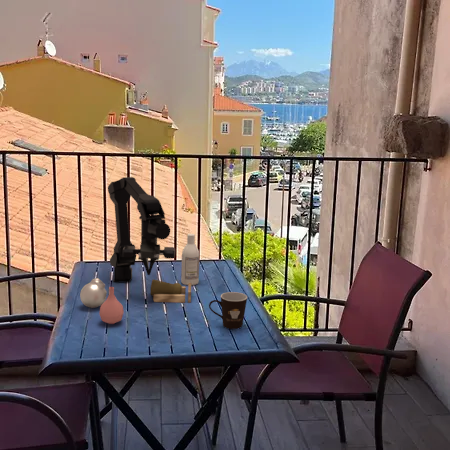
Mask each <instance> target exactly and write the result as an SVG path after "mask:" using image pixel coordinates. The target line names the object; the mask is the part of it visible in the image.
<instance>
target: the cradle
mask: <svg viewBox="0 0 450 450" xmlns="http://www.w3.org/2000/svg"><path fill="white" fill-rule="evenodd" d="M181 286H182V285H181ZM186 286H188V287H186ZM186 289H188V290H187V291H186ZM186 292H187V303H188V304H190V303H192V285H191V283H189V284H188V285H184V286H182V292H181V294H154V295H153V296H152V300H153V303H186Z"/></svg>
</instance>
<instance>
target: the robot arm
mask: <svg viewBox="0 0 450 450" xmlns="http://www.w3.org/2000/svg"><path fill="white" fill-rule="evenodd" d="M107 191H108V194H109V198H110V200H111V202H112V203H113V205H114V215H115V227H116V228H115V229H116V239H117V240H116V242H115V244H114V247H113V253H112V255H111V257H110V259H109V264H110V266H111V267H113V276H114V277H113V281H112V282H113V283H130V282H131V280H132V279H133V267H131V266H135V264H136V261H137V260H139V261H141V262H142V264H143V265H144V268H145V272H146V274H147V276H150V275H151V273H152V269H153V266H154V264H155V262H156V261H159V259H160V256H163V257H164V258H165V259H175V257H176V248H175V247H173V246H164V249H161V245H160V244H158V239H159V240H165V239H166V240H167V238H168V237H169V236H170V234H171V228H170V226H169V225H168V223H166V216H165V214H166V213H165V211H164V209H163V207H162V203H161V202H160V200H159V199H158V198H157V197H156V196H154V195H150V194H148V193H147V192H146V191H145V190H144V189H143V188H142V186H141V185H140V184H139V183H138V182H137V180H136V178H135V177H133V176H128V177H127V176H125V177H122V178H120V179H118V180H115V181H111V182H110V184H108V186H107ZM131 197H132V199H133V200H134V201H135V203H136V204H137V205H136V209H137V211H138V212H139V214H140V216H139V218H138V219H139V220H140V222H141V223H140V224H141V226H140V228H141V229H140V231H141V234H140V239H141V241H140V247H139V248H136V246H135V244H133V243H132V241H131V240H130V228H129V227H130V226H129V214H128V203H129V201H130V199H131ZM137 255H138V257H137ZM136 258H138V259H137V260H136Z"/></svg>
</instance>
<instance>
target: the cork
mask: <svg viewBox="0 0 450 450" xmlns="http://www.w3.org/2000/svg"><path fill="white" fill-rule="evenodd" d="M149 290H150V291H149V292H150V293H149V294H150V296H151V297H153V295H154V294H181V292H182V283H179V282H175V283H170V282H166V281H161V280H159V279H158V280H157V279H154V278H153V279H152V280H151V285H150V289H149ZM181 295H182V294H181Z"/></svg>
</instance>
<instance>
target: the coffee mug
mask: <svg viewBox="0 0 450 450" xmlns="http://www.w3.org/2000/svg"><path fill="white" fill-rule="evenodd" d="M247 301H248V295H246V294H245V293H242V292H237V291H236V292H235V291H230V292H223V293H221V295H220V300H218V299H214V300H211V301H210V302H209V303H208V308H209V309H210V311H211V312H212V313H213V314H214V315H216V316H218V317H220V318H221V319H222V326H223V328H225V327H226V328H225V329H228V328H229V329H228V330H239V329H241V328H243V326H244V325H243V324H244V319H245V313H246V308H247V307H246V306H247ZM213 303H218V304H219V306H220V307H221V314H219V313H218V312H216V311H215V310H214V309H212V307H211V305H212V304H213ZM240 327H241V328H240ZM238 328H239V329H238Z"/></svg>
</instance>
